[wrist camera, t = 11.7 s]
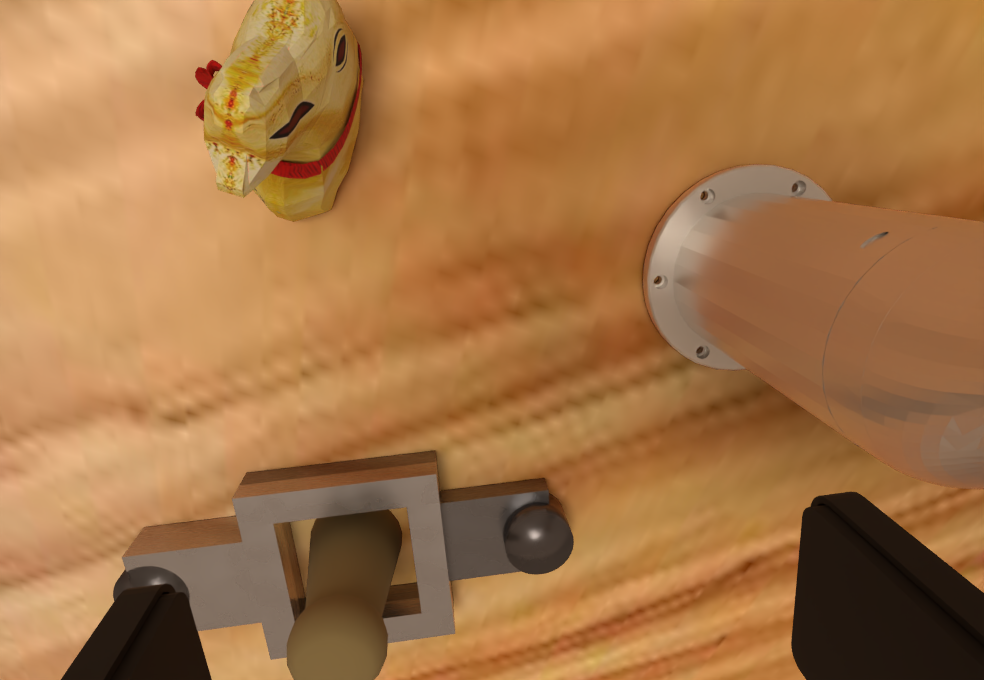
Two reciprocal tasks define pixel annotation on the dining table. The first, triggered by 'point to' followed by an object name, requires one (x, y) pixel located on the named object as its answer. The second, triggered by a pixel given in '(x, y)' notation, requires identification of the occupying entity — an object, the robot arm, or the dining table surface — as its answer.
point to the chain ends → (340, 491)
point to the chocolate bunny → (285, 106)
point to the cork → (346, 598)
